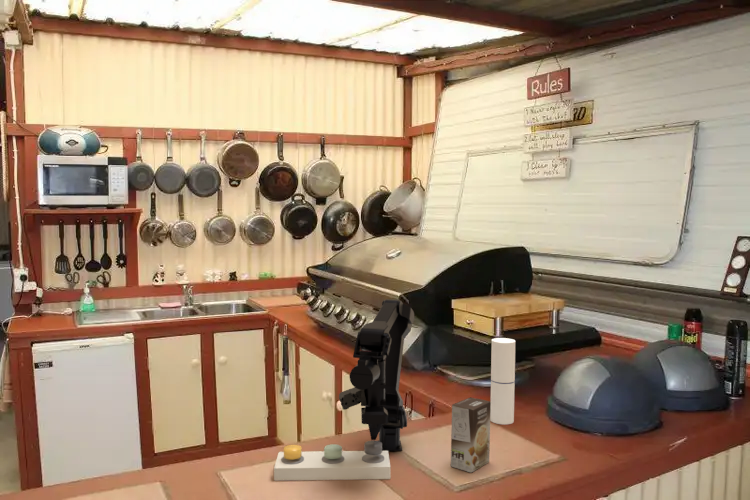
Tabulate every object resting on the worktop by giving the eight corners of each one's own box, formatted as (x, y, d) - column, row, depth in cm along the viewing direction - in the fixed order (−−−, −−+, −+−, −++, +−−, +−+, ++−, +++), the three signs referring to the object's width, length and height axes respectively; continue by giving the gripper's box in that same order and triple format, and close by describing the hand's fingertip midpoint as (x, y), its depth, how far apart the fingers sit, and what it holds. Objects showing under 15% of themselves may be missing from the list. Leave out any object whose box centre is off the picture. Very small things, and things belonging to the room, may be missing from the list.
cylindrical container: (487, 422, 190) (488, 341, 188) (494, 415, 196) (495, 337, 194) (510, 425, 186) (511, 343, 184) (516, 418, 193) (518, 339, 191)
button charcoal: (364, 449, 156) (364, 440, 156) (381, 449, 157) (381, 440, 156) (364, 456, 152) (364, 447, 152) (382, 456, 152) (382, 447, 152)
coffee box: (472, 473, 153) (473, 410, 152) (450, 466, 157) (450, 404, 156) (490, 461, 160) (491, 401, 159) (468, 455, 164) (469, 396, 163)
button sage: (324, 453, 156) (324, 444, 156) (342, 453, 156) (342, 444, 156) (323, 460, 152) (323, 451, 151) (341, 460, 152) (341, 451, 152)
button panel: (278, 463, 159) (278, 451, 158) (388, 461, 160) (388, 449, 159) (274, 480, 149) (273, 467, 148) (390, 479, 150) (390, 466, 150)
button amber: (284, 454, 156) (284, 444, 155) (302, 453, 156) (302, 444, 156) (282, 461, 151) (282, 451, 151) (300, 461, 151) (300, 451, 151)
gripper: (341, 368, 162) (341, 426, 163) (340, 389, 143) (340, 455, 145) (384, 367, 162) (383, 425, 164) (388, 389, 144) (387, 454, 145)
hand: (373, 439), depth 154 cm, fingers closed
